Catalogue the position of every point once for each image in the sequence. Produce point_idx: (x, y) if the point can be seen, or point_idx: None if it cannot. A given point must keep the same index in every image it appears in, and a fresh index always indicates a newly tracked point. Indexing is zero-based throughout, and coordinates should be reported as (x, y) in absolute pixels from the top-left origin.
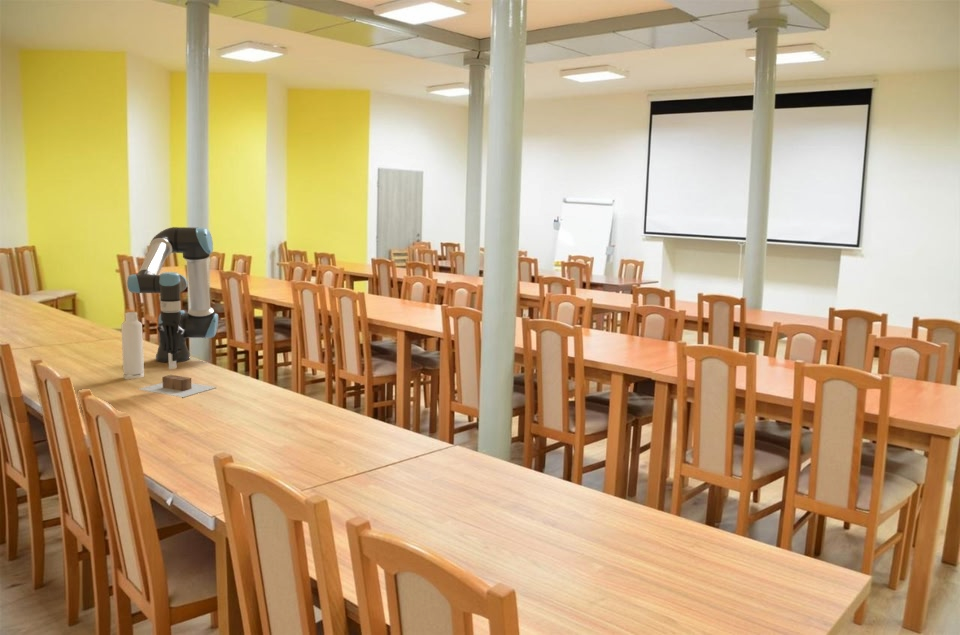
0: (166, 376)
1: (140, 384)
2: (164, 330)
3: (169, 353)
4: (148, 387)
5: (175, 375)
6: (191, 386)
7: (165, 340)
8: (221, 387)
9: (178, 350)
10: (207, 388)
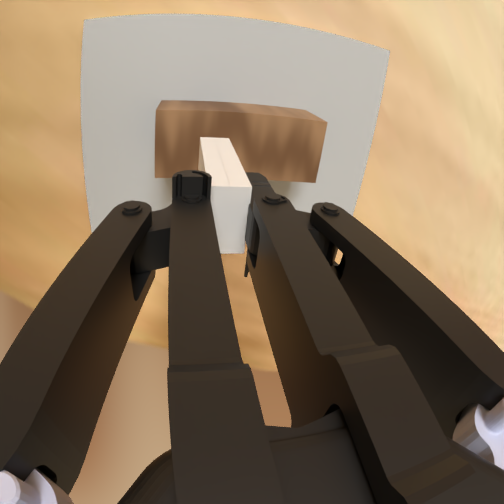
0: (168, 159)
1: (17, 159)
2: (52, 483)
3: (222, 252)
4: (101, 190)
5: (198, 112)
6: (309, 112)
7: (111, 327)
8: (397, 31)
9: (336, 248)
10: (368, 80)
